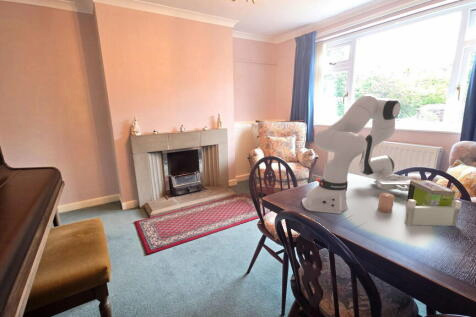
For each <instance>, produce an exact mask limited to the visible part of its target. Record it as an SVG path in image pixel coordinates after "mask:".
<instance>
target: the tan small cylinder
mask: <svg viewBox="0 0 476 317" xmlns="http://www.w3.org/2000/svg"><path fill="white" fill-rule="evenodd" d="M394 201H395V195H394V194H392V193H388V192H380V193H379V197H378V203H377V210H378V212H382V213H387V214H391V213H393V209H394V208H393V207H394Z"/></svg>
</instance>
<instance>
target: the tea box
mask: <svg viewBox="0 0 476 317" xmlns="http://www.w3.org/2000/svg"><path fill="white" fill-rule="evenodd" d="M456 192H457V191H456V190H454V189H451V188H450V187H447V186H444V185H443V184H442V185H441V184H439V183H437V182H435V181H433V180H426V179H425V180H423V179H422V180H417V179H416V180H414V179H412V180H410V184H409V190H408V191H407V197H406V202H405V208H407V205H408V199H413V200H415V201H416V206H450V207H451V205H452V200H455V197H456V196H455V195H456Z"/></svg>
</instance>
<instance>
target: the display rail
mask: <svg viewBox="0 0 476 317" xmlns="http://www.w3.org/2000/svg"><path fill="white" fill-rule="evenodd" d="M461 207H462V201H460V200H457V199H454V200H452V205H451V207H450V206H416V201H415V200H413V199H408V205H407V207H406V211H405V218H404V223H405V224H406V225H408V226H447V227H448V226H454V227H455V226H457V224H458V219H459V216H460V215H459V214H460V210H461Z"/></svg>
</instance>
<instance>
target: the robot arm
mask: <svg viewBox="0 0 476 317" xmlns="http://www.w3.org/2000/svg"><path fill="white" fill-rule="evenodd" d="M400 110H401V104H400V102H399V101H398V100H397V99H393V98H380V97H375V95H372V94H363V95H362V96H359V97H358V98H357V99H356V100H355V101H354V102H353V104H351V106H350V107H349V108H348V109H347V111H346V112H345V113H344V114H343V116H341V117H340V119H339V120H338V121H336V122H334V123H333V124H332V125H331V126H328V127H327V128H324V129H321V130H319V131H318V132H317V133H316V134H315V135H314V140H313V141H314V145H315V146H316V148H318V149H319V150H322V151H325V152H329V153H334V154H333V155H334V156H333V157H332V158H333V159H330V160H328V161H326V163H325V164H324V166H323V167H324V168H323V178H320V177H317V178H316V182H317V183H318V185H317V186H315V187H314V188H312V189H310V190H308V192H307V194H306V197H303V198H302V199H301V204H302V206H303V207H304V209H306V210H307V211H310V212H319V213H327V214H328V213H329V214H337V215H338V214H342V213H343V212H345V211H347V210H348V207H349V206H348V203H347V191H348V187H349V186H348V183H349V182H348V175H349V169H350V166H351V164H352V162H353V160H354V159H355V158H357V157H359V156H360V155H361V159H360V161H359V164H358V166H359V167H358V168H359V171H360V173H361V174H364V175H365V176H369V175H370V176H372V178H373V179H374V181H373V182H374V184H375V185H376V187H377V188H379V189H380V190H397V191H401V192H408V190H409V184H410V180H413V179H412V178H409V176H405V175H399V174H396V173H393V172H394V171H395V161H394V160H393V159H392V158H391V157H390V156H389V155H386V154H384V155H381V156H380V155H379V156H376V157H373V156H372V155H373V151H374V149H375V148H376V146H377V147H378V145H380V144H381V143H383V142H385V141H388V140H389V139H390V138H391V137H392V136H394V133H395V129H396V118H397V117H398V115H399V114H400ZM371 119H372V122H371V129H370V132H369V133H368V135H367V136H366V137H365V136H364V135H362V134H359V133H360V132H362V130H363V129H364V128H365V126H367V124H368V122H369V121H370V120H371Z"/></svg>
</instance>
